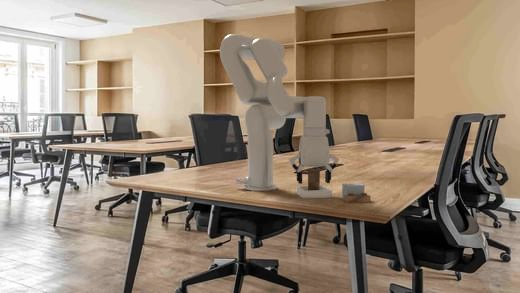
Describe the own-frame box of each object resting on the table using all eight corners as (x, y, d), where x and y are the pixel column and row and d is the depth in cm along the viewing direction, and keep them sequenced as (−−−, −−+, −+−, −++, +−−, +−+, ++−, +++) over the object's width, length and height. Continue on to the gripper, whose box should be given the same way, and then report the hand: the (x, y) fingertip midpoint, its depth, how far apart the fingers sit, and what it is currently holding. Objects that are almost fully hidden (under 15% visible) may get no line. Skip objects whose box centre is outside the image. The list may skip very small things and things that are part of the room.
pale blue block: (346, 200, 138) (346, 185, 137) (342, 198, 142) (342, 183, 141) (364, 200, 139) (364, 185, 138) (359, 198, 142) (359, 183, 142)
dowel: (309, 194, 144) (309, 171, 143) (306, 192, 148) (306, 169, 147) (321, 194, 145) (321, 171, 144) (317, 192, 149) (318, 169, 148)
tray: (303, 198, 141) (303, 191, 141) (296, 193, 150) (296, 186, 150) (331, 197, 142) (332, 190, 142) (323, 192, 152) (323, 185, 152)
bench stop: (346, 202, 134) (346, 194, 134) (344, 201, 136) (344, 193, 136) (370, 201, 136) (370, 193, 135) (367, 200, 138) (368, 192, 137)
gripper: (335, 132, 150) (334, 180, 151) (287, 132, 147) (286, 181, 148) (342, 133, 142) (341, 184, 144) (291, 133, 140) (291, 185, 141)
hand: (313, 183), depth 146 cm, fingers open, 9 cm apart
